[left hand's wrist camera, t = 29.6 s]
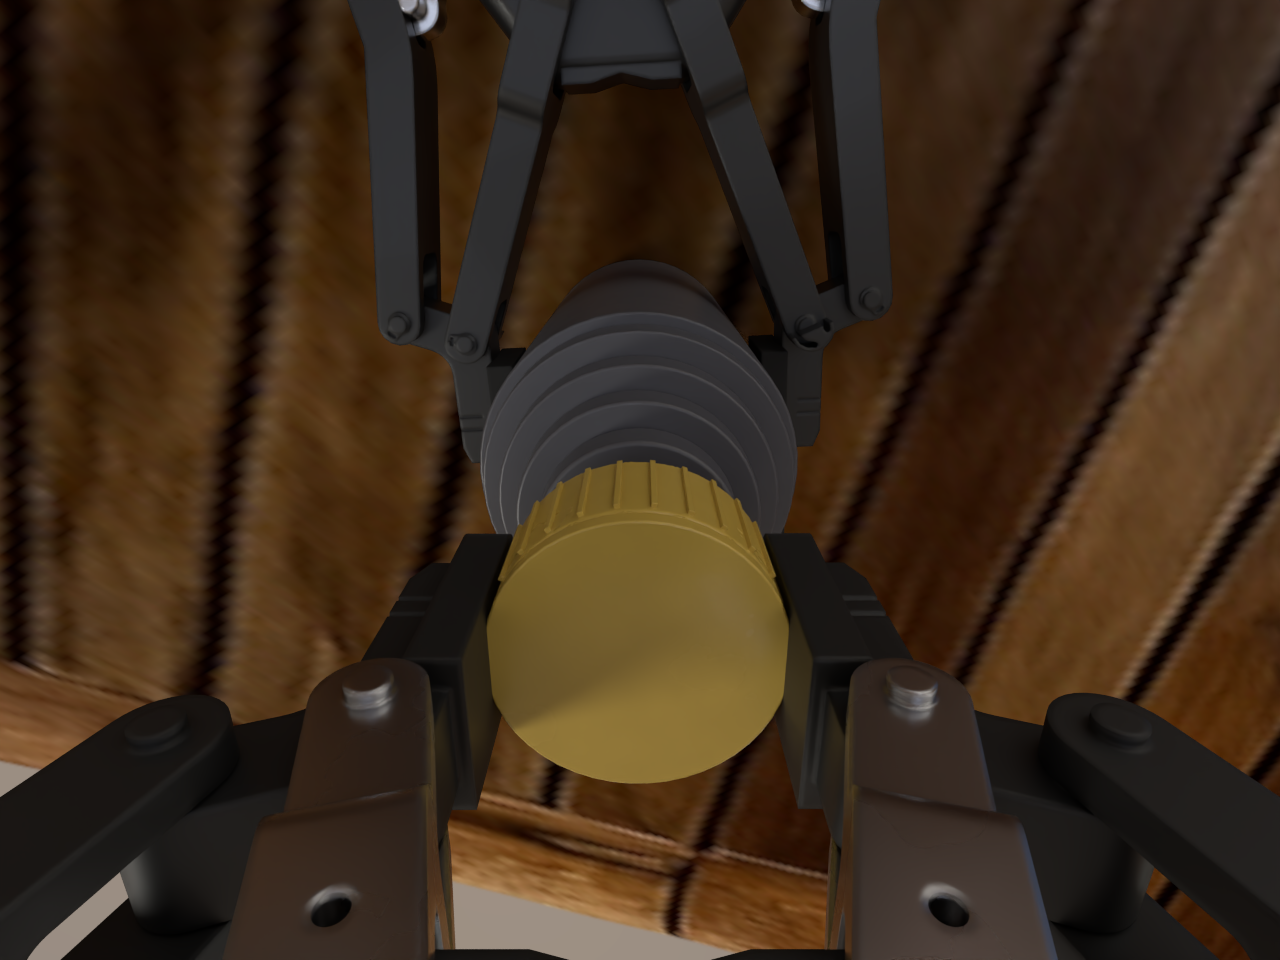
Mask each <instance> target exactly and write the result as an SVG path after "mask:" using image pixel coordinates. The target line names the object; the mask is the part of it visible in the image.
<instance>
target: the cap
mask: <svg viewBox="0 0 1280 960" xmlns="http://www.w3.org/2000/svg"><path fill="white" fill-rule="evenodd" d="M775 577H776V574H775V572H774V569H773V566H772V563H771V560H770V558H769V555H768V552H767V549H766V546H765V544H764V541H763V538H762V535H761V532H760V530H759V527H758V524H757V523H756V521H754V522H752V521H751V520H750V518H749V517H748V515H747V514H746V513H745V512H744V510H743V509H742V506H741V503H740V500H739V499H738V498H736V499H735V500H734V499H733V498H732V497H731V496H729V495H728V494H727V493H726V492H725V491H723V490H722V489H721V488H719V487H718V486H717V483H716V481H714V480H713V479H711V481H708V480H707V479H705V478H703V477H701V476H699V475H697V474H694V473H692V472H689V471H688V469H687V467H684V466H682V468H678V467H674V466H669V465H665V464H658V463H655V460H650V463H649V462H624V463H623V461H622V460H621V461H617V464H611V465H607V466H603V467H599V468H595V469H592V470H591V468H587V469H585V472H584V473H581V474H579V475H577V476H575V477H573V478H572V479H570V480H568V481H566V482H564V483H562V481H560V482H559V483H557V486H556V489H554V490H553V491H552V492H550V493H549V494H548V495H547V496H546V497H545V498H544V499H543V500H542V501H541V502H539V501H536V502H535V503H534V505H533V508H532V511H531V513H530V515H529V516H528V517H527V519H526V520H525V522H524V524H523V526H522V525H520V524H519V525H518V527H517V529H516V532H515V534H514V537H513V540H512V543H511V545H510V548H509V551H508V553H507V556H506V559H505V561H504V564H503V567H502V569H501V572H500V575H499V578H498V580H499V581H501V582H500V585H499V588H498V590H497V593H496V596H495V599H494V601H493V604H492V607H491V610H490V612H489V615H488V618H487V624H486V626H487V640H488V651H489V662H490V674H491V685H492V695H493V699H494V702H495V704H496V706H497V707H498V709H499V711H500V712H501V714H502V716H503V717H504V719H505V720H506V722H507V723H508V724H509V725H510V727H511V728H512V729H513V730H514V732H515V733H516V734H517V735H518V736H519V737H520V738H521V739H523V740H524V741H525V742H526V743H527V744H528V745H529V746H530V747H532V748H533V749H534V750H536V751H537V752H538V753H540V754H541V755H542V756H544V757H546V758H547V759H549V760H551V761H552V762H554V763H556V764H558V765H560V766H562V767H564V768H567V769H569V770H571V771H573V772H576V773H579V774H582V775H585V776H589V777H592V778H596V779H601V780H606V781H611V782H621V783H656V782H665V781H671V780H675V779H680V778H684V777H688V776H691V775H694V774H697V773H700V772H703V771H705V770H707V769H710V768H712V767H714V766H716V765H718V764H720V763H722V762H724V761H725V760H727V759H729V758H730V757H732V756H734V755H735V754H737V753H738V752H739V751H740V750H742V749H743V748H744V747H746V746H747V745H748V744H750V743H751V742H752V741H753V740H754V739H755V738H756V737H757V736H758V735H759V734H760V733H761V732H762V730H763V729H764V728H765V727H766V725H767V724H768V723H769V721H770V720H771V719H772V718H773V716H774V714H775V712H776V711H777V709H778V707H779V705H780V704H781V702H782V699H783V694H784V683H785V671H786V659H787V647H788V636H789V619H788V616H787V613H786V610H785V607H784V605H783V604H784V602H783V599H782V596H781V593H780V590H779V587H778V584H777V582H776V579H775Z"/></svg>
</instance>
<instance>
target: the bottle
mask: <svg viewBox="0 0 1280 960" xmlns="http://www.w3.org/2000/svg"><path fill="white" fill-rule="evenodd" d="M621 460H622V461H623V463H624V462H649V463H650V460H655V463H658V464H665V465H669V466H674V467H678V468H682V466H684V467H687V469H688V471H689V472H692V473H694V474H697V475H699V476H701V477H703V478H705V479H707V480H708V481H711V479H713V480H714V481H716V483H717V486H718V487H719V488H721V489H722V490H723V491H725V492H726V493H727V494H728V495H729V496H731V497H732V498H733V499H734V500H735V499H736V498H738V499H739V500H740V503H741V506H742V509H743V510H744V512H745V513H746V514H747V515H748V517H749V518H750V520H751V521H752V522H754V521H756V523H757V524H758V527H759V530H760V532H761V535H762V538H763V536H764V534H765V533H781V532H782V530H783V528H784V526H785V523H786V520H787V517H788V513H789V510H790V507H791V502H792V497H793V493H794V489H795V482H796V476H797V446H796V438H795V432H794V428H793V424H792V421H791V417H790V414H789V411H788V409H787V407H786V404H785V402H784V400H783V397H782V395H781V393H780V392H779V390H778V388H777V387H776V385H775V384H774V382H773V380H772V379H771V377H770V376H769V374H768V373H767V371H766V370H765V369H764V367H763V366H762V365H761V363H760V362H759V360H758V359H757V358H756V356H755V355H754V353H753V352H752V351H751V349H750V348H749V346H748V345H747V344H746V342H745V341H744V339H743V338H742V337H741V335H740V334H739V332H738V331H737V330H736V328H735V327H734V325H733V324H732V323H731V321H730V320H729V319H728V317H727V316H726V314H725V313H724V312H723V310H722V309H721V307H720V306H719V305H718V303H717V302H716V300H715V299H714V298H713V296H712V295H711V294H710V293H709V292H708V290H707V289H706V288H705V287H704V286H703V285H702V284H701V283H700V282H699V281H697V280H696V279H695V278H693V277H692V276H691V275H689V274H688V273H686V272H684V271H682V270H680V269H678V268H677V267H674V266H671V265H668V264H666V263H662V262H657V261H652V260H626V261H622V262H617V263H613V264H610V265H607V266H604V267H602V268H600V269H598V270H596V271H594V272H592V273H591V274H589V275H588V276H587V277H585V278H584V279H582V280H581V281H580V282H579V283H578V284H577V285H576V286H575V287H574V288H573V289H572V290H571V291H570V292H569V293H568V295H567V296H566V297H565V298H564V300H563V301H562V303H561V304H560V305H559V307H558V308H557V309H556V311H555V312H554V313H553V315H552V316H551V318H550V319H549V320H548V322H547V323H546V324H545V326H544V327H543V328H542V330H541V331H540V333H539V334H538V335H537V337H536V338H535V339H534V341H533V342H532V343H531V345H530V346H529V348H528V349H527V350H526V352H525V353H524V354H523V356H522V357H521V358H520V360H519V361H518V363H517V364H516V365H515V367H514V368H513V369H512V371H511V372H510V374H509V375H508V376H507V378H506V379H505V381H504V383H503V384H502V386H501V387H500V389H499V391H498V392H497V394H496V396H495V398H494V401H493V403H492V405H491V408H490V410H489V412H488V415H487V419H486V422H485V426H484V430H483V434H482V442H481V450H480V472H481V478H482V485H483V491H484V495H485V499H486V505H487V508H488V512H489V515H490V519H491V522H492V524H493V527H494V529H495V531H496V533H497V534H512V536H513V537H514V534H515V532H516V529H517V527H518V525H519V524H520V525H522V526H523V524H524V522H525V520H526V519H527V517H528V516H529V515H530V513H531V511H532V508H533V505H534V503H535V502H536V501H539V502H541V501H542V500H543V499H544V498H545V497H546V496H547V495H548V494H549V493H550V492H552V491H553V490H554V489H556V486H557V483H559V482H560V481H562V483H564V482H566V481H568V480H570V479H572V478H573V477H575V476H577V475H579V474H581V473H584V472H585V469H587V468H591V470H592V469H595V468H599V467H603V466H607V465H611V464H617V461H621Z"/></svg>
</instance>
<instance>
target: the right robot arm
mask: <svg viewBox="0 0 1280 960" xmlns="http://www.w3.org/2000/svg"><path fill="white" fill-rule="evenodd" d="M347 1H348V3H349V6H350V9H351V12H352V15H353V17H354V20H355V23H356V26H357V28H358V31H359V34H360V37H361V40H362V42H363V45H364V52H365V73H366V93H367V113H368V134H369V154H370V175H371V195H372V215H373V236H374V256H375V276H376V297H377V317H378V326H379V330H380V332H381V333H382V335H383V336H384V338H385V339H387V340H388V341H389V342H391V343H393V344H397V345H407V344H411V345H415V346H418V347H422V348H425V349H428V350H432V351H434V352H436V353H438V354H440V355H441V356H443V357H444V358H445V359H446V361H447V362H448V363H449V365H450V367H451V369H452V373H453V378H454V385H455V392H456V398H457V405H458V412H459V416H460V426H461V430H462V431H461V433H462V440H463V446H464V449H465V451H466V453H467V455H468V456H469V458H470V460H471V462H472V463H480V450H481V442H482V434H483V430H484V426H485V422H486V419H487V415H488V412H489V410H490V408H491V405H492V403H493V401H494V398H495V396H496V394H497V392H498V391H499V389H500V387H501V386H502V384H503V383H504V381H505V379H506V378H507V376H508V375H509V374H510V372H511V371H512V369H513V368H514V367H515V365H516V364H517V363H518V361H519V360H520V358H521V357H522V356H523V354H524V353H525V352H526V348H507V349H502V350H501V351H500V348H499V339H500V338H501V337H502V335H503V333H504V331H502V326H503V323H504V319H505V315H506V311H507V307H508V303H509V299H510V296H511V292H512V288H513V284H514V280H515V276H516V273H517V269H518V265H519V261H520V257H521V253H522V250H523V246H524V242H525V238H526V234H527V230H528V227H529V223H530V219H531V215H532V211H533V207H534V204H535V200H536V196H537V192H538V188H539V184H540V181H541V177H542V173H543V169H544V165H545V161H546V158H547V154H548V150H549V146H550V142H551V138H552V135H553V132H554V130H555V128H556V125H557V122H558V119H559V116H560V112H561V108H562V105H563V101H564V97H565V93H566V92H567V93H568V94H569V95H570V94H588V93H597V92H600V91H602V90H605V89H608V88H611V87H613V86H616V85H619V84H622V83H625V84H629V85H633V86H637V87H642V88H646V89H650V90H656V89H674V88H678V87H679V84H681V86H682V88H683V91H684V94H685V96H686V99H687V102H688V104H689V107H690V109H691V112H692V114H693V116H694V118H695V120H696V122H697V124H698V126H699V128H700V131H701V134H702V136H703V139H704V141H705V144H706V147H707V149H708V152H709V155H710V157H711V160H712V162H713V165H714V168H715V170H716V173H717V176H718V178H719V181H720V183H721V186H722V189H723V191H724V194H725V197H726V199H727V202H728V204H729V207H730V210H731V212H732V215H733V218H734V220H735V223H736V226H737V228H738V231H739V233H740V236H741V239H742V241H743V244H744V247H745V249H746V252H747V254H748V257H749V260H750V262H751V265H752V268H753V270H754V273H755V275H756V278H757V281H758V283H759V286H760V289H761V291H762V294H763V297H764V299H765V302H766V304H767V307H768V310H769V312H770V315H771V318H772V320H773V322H774V336H773V335H757V336H749V348H750V349H751V351H752V352H753V353H754V355H755V356H756V358H757V359H758V360H759V362H760V363H761V365H762V366H763V367H764V369H765V370H766V371H767V373H768V374H769V376H770V377H771V379H772V380H773V382H774V384H775V385H776V387H777V388H778V390H779V392H780V393H781V395H782V397H783V400H784V402H785V404H786V407H787V409H788V411H789V414H790V417H791V421H792V424H793V428H794V432H795V438H796V446H797V447H801V446H813V444H814V442H815V439H816V437H817V435H818V433H819V430H820V407H821V400H820V398H821V381H822V355H823V349H824V347H826V346H827V345H828V344H829V342H830V341H831V339H832V337H833V334H834V333H835V332H837V331H839V330H840V329H843V328H845V327H847V326H850V325H852V324H855V323H857V322H860V321H862V320H871V321H873V320H875V319H878V318H881V317H882V316H883V315H884V314H885V313H886V312H887V311H888V309H889V308H890V306H891V304H892V297H893V293H892V276H891V259H890V242H889V225H888V208H887V191H886V174H885V157H884V140H883V123H882V106H881V89H880V72H879V55H878V38H877V21H876V16H877V12H878V8H879V4H880V0H792V3H793V6H794V8H795V9H796V11H797V12H798V13H800V14H801V15H802V16H805V17H807V18H811V22H810V30H809V45H808V48H809V69H810V81H811V92H812V103H813V114H814V125H815V137H816V148H817V159H818V170H819V181H820V193H821V204H822V215H823V226H824V238H825V249H826V260H827V271H828V281H825V282H823V283H820V284H818V285H815V282H814V280H813V277H812V274H811V271H810V268H809V265H808V263H807V260H806V257H805V254H804V251H803V248H802V246H801V243H800V240H799V237H798V234H797V231H796V229H795V226H794V223H793V220H792V217H791V214H790V212H789V209H788V206H787V203H786V200H785V197H784V195H783V192H782V189H781V186H780V183H779V181H778V178H777V175H776V172H775V169H774V166H773V164H772V161H771V158H770V155H769V152H768V149H767V147H766V144H765V141H764V138H763V135H762V132H761V130H760V127H759V124H758V121H757V118H756V115H755V113H754V110H753V107H752V104H751V101H750V98H749V94H748V88H747V82H746V78H745V74H744V71H743V68H742V65H741V63H740V60H739V57H738V54H737V51H736V48H735V46H734V43H733V40H732V37H731V34H730V31H729V28H730V26H731V25H732V23H733V21H734V20H735V18H736V16H737V15H738V13H739V11H740V10H741V8H742V6H743V5H744V3H745V1H746V0H480V2H481V3H482V4H483V6H484V7H485V8H486V10H487V11H488V12H489V13H490V15H491V16H492V17H493V19H494V20H495V21H496V23H497V24H498V25H499V27H500V28H501V29H502V31H503V32H504V33H505V35H506V36H507V37H508V39H509V40H510V42H509V46H508V50H507V55H506V59H505V63H504V68H503V72H502V76H501V81H500V85H499V91H498V108H497V115H496V120H495V124H494V128H493V133H492V137H491V141H490V145H489V150H488V154H487V158H486V162H485V167H484V171H483V175H482V180H481V184H480V188H479V192H478V197H477V201H476V205H475V210H474V214H473V218H472V222H471V227H470V231H469V235H468V240H467V244H466V248H465V252H464V257H463V261H462V265H461V270H460V274H459V278H458V282H457V287H456V291H455V295H454V299H453V304H449V303H446V302H443V301H441V263H440V207H439V152H438V96H437V75H436V65H435V59H434V53H433V48H432V44H431V40H433V39H435V38H437V37H439V36H440V35H441V34H442V33H443V31H444V29H445V27H446V23H447V9H446V1H447V0H347ZM781 533H784V528H783V530H782V532H781Z"/></svg>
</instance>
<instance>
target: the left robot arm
mask: <svg viewBox="0 0 1280 960" xmlns="http://www.w3.org/2000/svg"><path fill="white" fill-rule="evenodd" d="M512 540H513V536H512V534H466V535H465V536H464V537H463V539H462V541H461V543H460V545H459V547H458V549H457V551H456V553H455V555H454V557H453V559H452V561H451V563H432V564H430V565H429V566H427V567H426V568H425V569H423V570H422V571H420V572H419V573H418V574H416V575H415V576H413V577H412V578H410V579H409V581H408V583H407V584H406V586H405V588H404V590H403V591H402V593H401V595H400V596H399V601H396V603H395V605H394V606H393V608H392V610H391V611H390V617H387V618H386V620H385V621H384V623H383V625H382V627H381V628H380V630H379V632H378V633H377V635H376V637H375V638H374V640H373V642H372V643H371V645H370V647H369V648H368V650H367V652H366V653H365V655H364V657H363V659H362V660H361V662H357V663H354V664H351V665H349V666H346V667H344V668H342V669H340V670H338V671H336V672H334V673H332V674H331V675H329V676H328V677H326V678H325V679H324V680H322V681H321V682H320V683H319V684H318V685H317V686H316V687H315V688H314V690H313V691H312V693H311V694H310V696H309V699H308V702H307V707H306V709H304V710H301V711H298V712H295V713H292V714H288V715H284V716H280V717H275V718H270V719H265V720H261V721H256V722H251V723H246V724H241V725H236V726H233V722H232V718H231V714H230V711H229V708H228V707H227V705H226V704H225V703H224V702H222V701H221V700H219V699H217V698H214V697H211V696H205V695H183V696H177V697H171V698H167V699H163V700H159V701H156V702H153V703H150V704H147V705H144V706H142V707H139V708H137V709H135V710H133V711H131V712H129V713H127V714H125V715H123V716H121V717H120V718H118V719H116V720H115V721H113V722H112V723H110V724H109V725H107V726H106V727H104V728H103V729H101V730H100V731H98V732H97V733H95V734H94V735H92V736H91V737H89V738H88V739H86V740H85V741H83V742H82V743H80V744H79V745H77V746H76V747H74V748H73V749H71V750H70V751H68V752H67V753H65V754H64V755H62V756H61V757H59V758H58V759H56V760H55V761H53V762H52V763H50V764H49V765H47V766H46V767H44V768H43V769H41V770H40V771H39V772H37V773H36V774H34V775H33V776H31V777H30V778H28V779H27V780H25V781H24V782H22V783H21V784H19V785H18V786H16V787H15V788H13V789H12V790H10V791H9V792H7V793H6V794H4V795H3V796H1V797H0V960H27V959H28V957H29V956H30V954H31V953H32V952H33V950H34V949H35V948H36V946H37V945H38V944H39V943H40V942H41V941H42V940H43V939H44V938H45V937H46V936H47V935H48V934H49V933H50V932H51V931H52V930H54V929H55V928H56V927H57V926H58V925H59V924H61V923H62V922H63V921H64V920H65V919H66V918H68V917H69V916H70V915H71V914H72V913H73V912H74V911H76V910H77V909H78V908H79V907H80V906H81V905H83V904H84V903H85V902H86V901H87V900H88V899H89V898H91V897H92V896H93V895H94V894H95V893H96V892H97V891H99V890H100V889H101V888H102V887H103V886H104V885H106V884H107V883H108V882H109V881H110V880H111V879H112V878H114V877H115V876H116V875H117V874H118V873H119V872H120V874H121V877H122V880H123V883H124V886H125V888H126V891H127V894H128V897H129V898H128V899H127V900H126V901H125V902H123V903H122V904H121V905H120V906H119V907H118V908H117V909H116V910H115V911H114V912H112V913H111V914H110V915H109V916H108V917H107V918H106V919H105V920H104V921H103V922H102V923H100V924H99V925H98V926H97V927H96V928H95V929H94V930H93V931H92V932H91V933H89V934H88V935H87V936H86V937H85V938H84V939H83V940H82V941H81V942H80V943H79V944H77V945H76V946H75V947H74V948H73V949H72V950H71V951H70V952H69V953H68V954H67V955H65V956H64V957H63V958H62V959H61V960H567V959H564V958H560V957H556V956H552V955H549V954H545V953H541V952H537V951H534V950H530V949H455V931H454V909H453V888H452V866H451V849H450V841H449V833H448V825H447V823H448V820H449V817H450V814H451V810H477V807H478V803H479V799H480V795H481V792H482V788H483V784H484V780H485V776H486V773H487V769H488V765H489V761H490V757H491V754H492V750H493V746H494V742H495V738H496V735H497V731H498V727H499V723H500V719H501V716H502V714H501V712H500V711H499V709H498V707H497V706H496V704H495V702H494V699H493V695H492V685H491V674H490V662H489V651H488V640H487V626H486V624H487V618H488V615H489V612H490V610H491V607H492V604H493V601H494V599H495V596H496V593H497V590H498V588H499V585H500V582H501V581H499V580H498V578H499V575H500V572H501V569H502V567H503V564H504V561H505V559H506V556H507V553H508V551H509V548H510V545H511V543H512ZM763 541H764V544H765V546H766V549H767V552H768V555H769V558H770V560H771V563H772V566H773V569H774V572H775V574H776V577H775V579H776V582H777V584H778V587H779V590H780V593H781V596H782V599H783V602H784V604H783V605H784V607H785V610H786V613H787V616H788V619H789V636H788V647H787V659H786V671H785V683H784V694H783V699H782V702H781V704H780V705H779V707H778V709H777V711H776V712H775V714H774V716H775V719H776V723H777V727H778V731H779V735H780V739H781V743H782V747H783V751H784V755H785V759H786V762H787V766H788V770H789V774H790V778H791V782H792V786H793V790H794V794H795V798H796V802H797V805H798V809H823V810H824V813H825V817H826V820H827V824H828V827H829V830H830V833H831V841H830V849H829V866H828V887H827V909H826V930H825V949H750V950H746V951H743V952H739V953H735V954H731V955H728V956H724V957H720V958H716V959H713V960H1219V959H1218V958H1217V957H1216V956H1215V955H1214V954H1212V953H1211V952H1210V951H1209V950H1208V949H1207V948H1206V947H1205V946H1204V945H1203V944H1202V943H1200V942H1199V941H1198V940H1197V939H1196V938H1195V937H1194V936H1193V935H1192V934H1191V933H1189V932H1188V931H1187V930H1186V929H1185V928H1184V927H1183V926H1182V925H1181V924H1180V923H1178V922H1177V921H1176V920H1175V919H1174V918H1173V917H1172V916H1171V915H1170V914H1169V913H1168V912H1166V911H1165V910H1164V909H1163V908H1162V907H1161V906H1160V905H1159V904H1158V903H1157V902H1155V901H1154V900H1153V899H1152V898H1151V897H1150V896H1149V895H1148V894H1147V893H1146V890H1147V887H1148V884H1149V881H1150V878H1151V876H1152V873H1153V870H1154V867H1155V868H1156V869H1157V870H1158V871H1160V872H1161V873H1162V874H1163V875H1164V876H1165V877H1166V878H1168V879H1169V880H1170V881H1171V882H1172V883H1173V884H1174V885H1176V886H1177V887H1178V888H1179V889H1180V890H1181V891H1183V892H1184V893H1185V894H1186V895H1187V896H1188V897H1189V898H1191V899H1192V900H1193V901H1194V902H1195V903H1196V904H1197V905H1199V906H1200V907H1201V908H1202V909H1203V910H1204V911H1206V912H1207V913H1208V914H1209V915H1210V916H1211V917H1212V918H1214V919H1215V920H1216V921H1217V922H1218V923H1219V924H1220V925H1222V926H1223V927H1224V928H1225V929H1226V930H1227V931H1228V932H1229V933H1230V934H1232V935H1233V936H1234V937H1235V939H1236V940H1237V941H1238V942H1239V943H1240V944H1241V946H1242V947H1243V948H1244V950H1245V951H1246V952H1247V954H1248V956H1249V957H1250V959H1251V960H1280V797H1279V796H1277V795H1276V794H1274V793H1273V792H1271V791H1270V790H1268V789H1267V788H1265V787H1264V786H1262V785H1261V784H1259V783H1258V782H1256V781H1255V780H1253V779H1252V778H1250V777H1249V776H1247V775H1246V774H1244V773H1243V772H1241V771H1240V770H1238V769H1237V768H1236V767H1234V766H1233V765H1231V764H1230V763H1228V762H1227V761H1225V760H1224V759H1222V758H1221V757H1219V756H1218V755H1216V754H1215V753H1213V752H1212V751H1210V750H1209V749H1207V748H1206V747H1204V746H1203V745H1201V744H1200V743H1198V742H1197V741H1195V740H1194V739H1192V738H1191V737H1189V736H1188V735H1186V734H1185V733H1183V732H1182V731H1180V730H1179V729H1177V728H1176V727H1174V726H1173V725H1171V724H1170V723H1168V722H1167V721H1165V720H1164V719H1162V718H1161V717H1159V716H1157V715H1156V714H1154V713H1152V712H1150V711H1148V710H1146V709H1144V708H1142V707H1140V706H1138V705H1135V704H1133V703H1130V702H1128V701H1124V700H1121V699H1118V698H1114V697H1110V696H1106V695H1100V694H1093V693H1073V694H1067V695H1063V696H1061V697H1058V698H1057V699H1055V700H1053V701H1052V703H1051V704H1050V705H1049V707H1048V710H1047V714H1046V718H1045V722H1044V726H1042V725H1037V724H1033V723H1028V722H1023V721H1018V720H1013V719H1008V718H1004V717H999V716H994V715H990V714H986V713H982V712H979V711H976V710H974V707H973V702H972V699H971V696H970V694H969V693H968V691H967V690H966V688H965V687H964V686H963V685H962V684H961V683H960V682H959V681H958V680H956V679H955V678H954V677H952V676H951V675H949V674H948V673H946V672H944V671H942V670H940V669H938V668H936V667H934V666H931V665H929V664H926V663H923V662H919V661H915V660H913V658H912V656H911V655H910V653H909V651H908V649H907V648H906V646H905V644H904V643H903V641H902V639H901V637H900V636H899V634H898V632H897V631H896V629H895V627H894V626H893V624H892V622H891V620H890V619H889V617H888V616H886V612H885V610H884V608H883V607H882V605H881V603H880V602H879V601H877V596H876V595H875V593H874V591H873V590H872V588H871V586H870V584H869V583H868V581H867V579H866V578H865V577H863V576H862V575H860V574H859V573H858V572H856V571H855V570H853V569H852V568H851V567H849V566H848V565H846V564H845V563H825V561H824V559H823V557H822V555H821V553H820V551H819V549H818V547H817V545H816V543H815V541H814V539H813V537H812V535H811V534H810V533H765V534H764V536H763Z"/></svg>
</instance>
